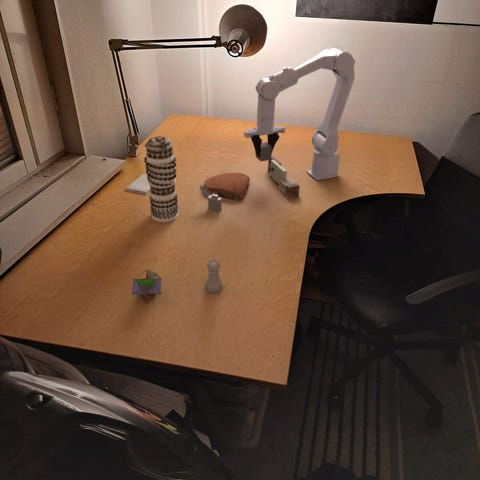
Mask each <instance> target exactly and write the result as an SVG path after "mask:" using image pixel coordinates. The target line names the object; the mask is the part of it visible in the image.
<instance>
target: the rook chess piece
mask: <svg viewBox="0 0 480 480" xmlns="http://www.w3.org/2000/svg"><path fill="white" fill-rule="evenodd" d="M220 267H221V264H220V262H219V261H218V260H217V259H215V260H214V259H211V260H208V263H207V264H206V268H208V269H207V273H208V277H207V279H206V281H205V284H204V288H205V290H206V291H207V292H209V293H211V294H215V293H219V292H221V290H223V287H224V285H223V281H222V279H221V278H220V274H219V273H220Z"/></svg>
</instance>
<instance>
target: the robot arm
mask: <svg viewBox="0 0 480 480" xmlns="http://www.w3.org/2000/svg"><path fill="white" fill-rule="evenodd" d="M355 64H356V60H355V58H354V57H353V55H352V54H351V52H349V51H345V50H343V49H340V48H338V47H336V46H330V47H328V48H326V49H323V50H322V51H320V52H319V53H318V54H317V55H315V56H313V57H311V58H310V59H307V61H305V62H304V63H301V64H300V65H298V66H296V67H291V66H284V67H282V70H281V71H278V72H277V73H275V74H270V75H269V77H263V78H260V79H259V81H258V82H257V84H256V86H255V91H256V92H257V94H258V95H257V112H256V114H257V115H256V127H255V128H250V129H247V130H244V132H243V136H244V138H246V139H249V138H250V140H251V142H252V145H253V148H254V151H255V156H256V155H257V156H258V157H260V148H261V143H263V139H261V136H266V137H267V143H268V144H270V145H271V146H272V152H271V156H273V155H272V154H273V151H274V149H275V146H276V145H277V142H278V140H279V139H280V134H285V133H286V127H285V126H283V125H278V126H277V125H275V112H276V111H275V110H276V98H277V97H278V96H279V94H280V93H282V92H284V91H286V90H288V89H289V88H291V87H293V86H296V85H297V84H298V81H299V79H300V78H303V77H306V76H307V75H309V74H311V73H314V72H317V71H318V70H323V69H324V70H329V71H332V73H333V74H334V76H335V78H336V82H335V85H334V88H333V91H332V94H331V97H330V100H329V103H328V106H327V109H326V112H325V116H324V118H323V122H322V124H320V125H319V126H317V128H316V131H315V133H314V134H313V135H312V137H311V144H312V146H313V154H312V160H311V161H312V162H311V168H310V169H307V170H306V173H308V174H309V175H310V176H311V177H312V178H314V179H315V180H316V181H320V180H326V179H327V180H328V179H331V178H332V179H333V178H337V177H339V174H338V172H339V167H340V154H339V152H338V148H339V139H340V134H339V130H338V127H339V125H340V122H341V119H342V116H343V113H344V111H345V108H346V104H347V101H348V99H349V97H350V96H349V95H350V93H351V90H352V87H353V84H354V82H355Z"/></svg>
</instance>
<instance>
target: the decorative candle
mask: <svg viewBox="0 0 480 480" xmlns="http://www.w3.org/2000/svg"><path fill="white" fill-rule="evenodd" d="M173 146H174V143H173V141H171V140H170V139H169V138H168V137H166V136H153V137H150V138H149V139H148V140H147V142H145V143H144V148H145V149H146V150H145V151H146V154H145V157H144V158H143V159H144V160H143V161H144V163H145V164H144V166H145V174H147V177H148V178H147V180H148V184H149V185H150V192H149V197H148V199H149V203H150V207H149V208H150V213H151V214H150V215H151V219H153V221H155V222H159V223H160V222H161V223H169V222H172V221H175V220H176V219H177V218H178V217H179V204H178V194H177V190H176V183H177V179H176V178H177V174H176V173H177V168H176V167H177V158H176V157H175V155H174V151H173Z"/></svg>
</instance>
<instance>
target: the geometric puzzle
mask: <svg viewBox="0 0 480 480" xmlns="http://www.w3.org/2000/svg"><path fill="white" fill-rule="evenodd" d="M144 272H145V274H146V275H145V277H144V278H140V276H142V275H143V273H141V274H139V275H137V278H133V279H132V290H131V292H132V293H131V295H133V296H136V295H138V296H139V295H140V296H141V297H142V298H143V299H144V302H145V303H148V295H156V296H155V297H158V296H159V295H160V294H161V295H162V293H161V292H162V277H160V275H159V274H158V273H157V272H156V271H153V270H148V269H145V271H144ZM138 276H139V277H138ZM144 296H145V298H144ZM155 297H154V296H153V299H155ZM143 299H140V300H141V301H143Z"/></svg>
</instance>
